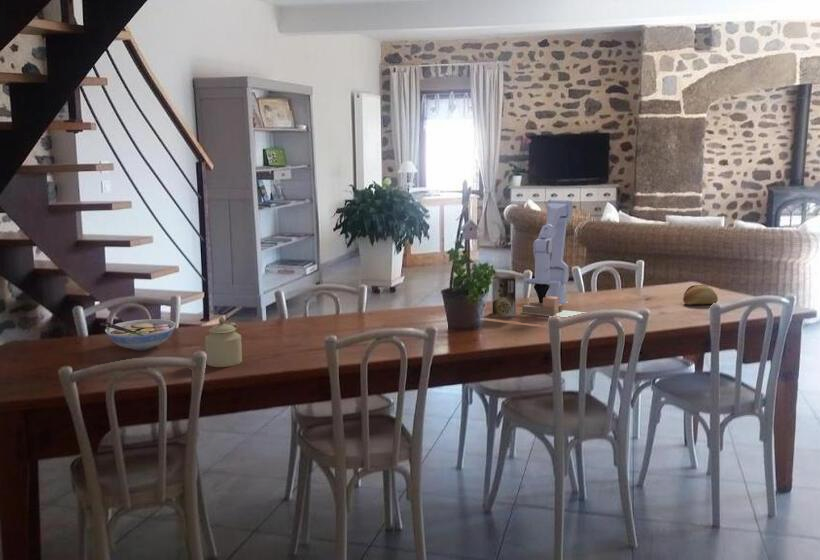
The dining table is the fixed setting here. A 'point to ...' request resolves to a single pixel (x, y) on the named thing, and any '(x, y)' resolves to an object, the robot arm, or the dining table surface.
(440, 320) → the dining table surface
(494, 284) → the coffee box
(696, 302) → the bread roll
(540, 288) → the robot arm
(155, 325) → the ramen bowl
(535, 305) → the chute board
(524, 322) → the dining table surface
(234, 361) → the sugar bowl
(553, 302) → the block
